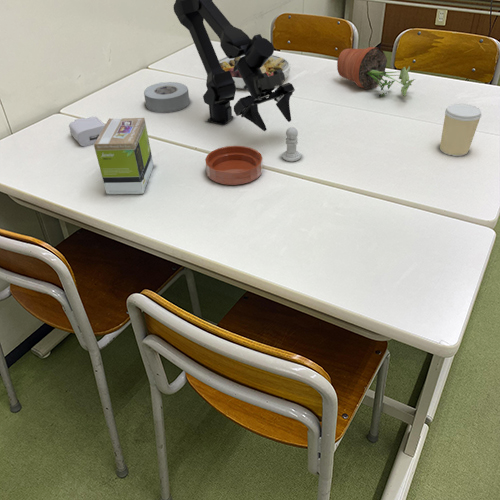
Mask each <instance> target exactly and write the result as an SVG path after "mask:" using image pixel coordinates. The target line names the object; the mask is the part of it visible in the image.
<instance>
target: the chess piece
mask: <svg viewBox="0 0 500 500" xmlns="http://www.w3.org/2000/svg"><path fill="white" fill-rule="evenodd" d="M298 136H299V131H298V129H297V128H296V127H293V126H291V127H288V128H287V129H286V131H285V137H286V138H285V144H286V150H285V151H284V152H283V153H282V155H281V158H282V159H283V160H284V161H285V162H286V161H287V162H296V161H299V160H301V157H302V154H301V153H300V152H299V151H298V150H297V145H298V144H299V143H298V140H299V139H298Z"/></svg>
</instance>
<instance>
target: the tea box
mask: <svg viewBox="0 0 500 500" xmlns="http://www.w3.org/2000/svg"><path fill="white" fill-rule="evenodd" d="M104 124H105V126H104V128H103V130H102V131H101V133H100V135H99V136H98V138H97V140H96V142H95V143H94V144H93V147H94V151H95V154H96V158H97V163H98V167H99V170H100V174H101V178H102V182H103V186H104V189H105V193H106V195H142V194H143V195H144V193H145V191H146V187H147V184H148V182H149V179H150V176H151V174H152V171H153V169H154V165H155V164H154V159H153V155H152V150H151V143H150V139H149V134H148V129H147V124H146V119H145V117H128V118H127V117H124V118H122V117H121V118H108V119H107V121H106V123H104Z"/></svg>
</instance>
